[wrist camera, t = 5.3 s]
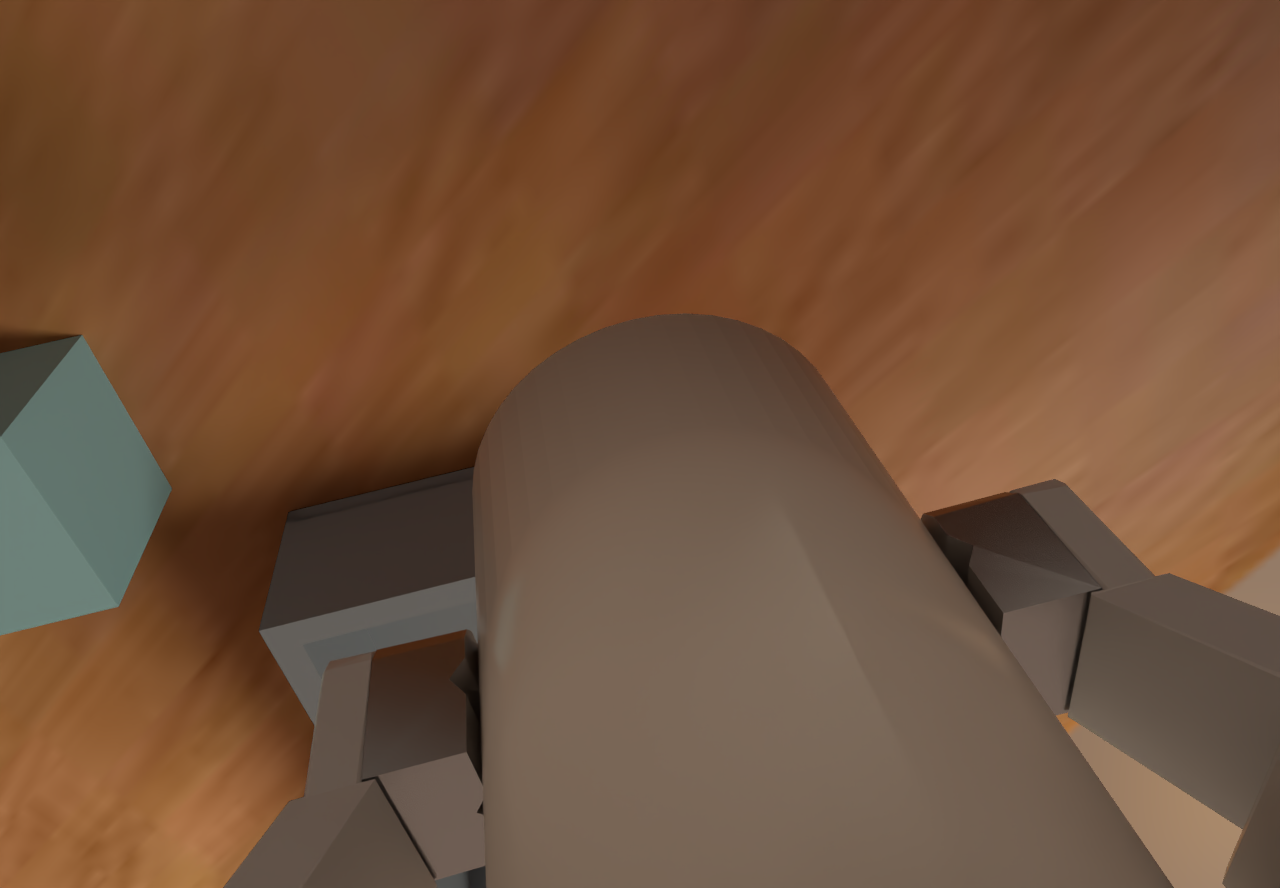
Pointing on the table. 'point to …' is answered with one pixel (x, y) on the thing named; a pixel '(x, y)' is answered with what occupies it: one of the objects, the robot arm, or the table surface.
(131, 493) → the teal cube
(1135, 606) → the robot arm
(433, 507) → the tote
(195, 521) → the table surface
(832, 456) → the cream capsule
